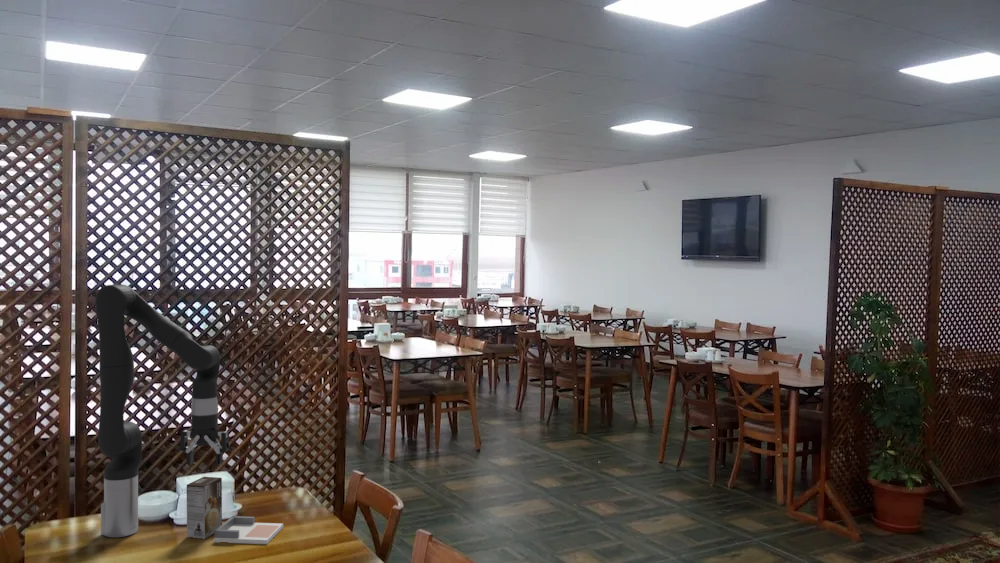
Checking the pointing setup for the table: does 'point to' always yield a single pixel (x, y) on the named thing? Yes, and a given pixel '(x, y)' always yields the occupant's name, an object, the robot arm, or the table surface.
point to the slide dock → (246, 531)
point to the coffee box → (204, 507)
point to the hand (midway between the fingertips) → (204, 465)
